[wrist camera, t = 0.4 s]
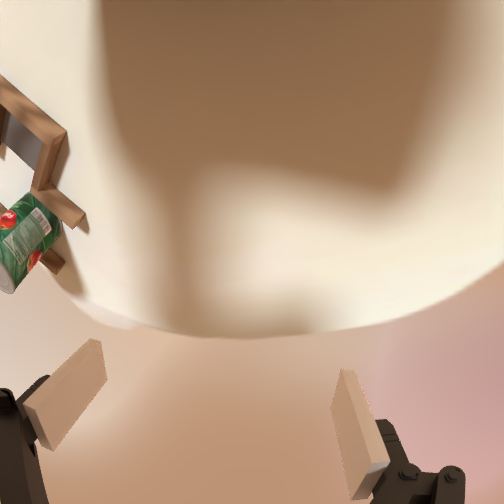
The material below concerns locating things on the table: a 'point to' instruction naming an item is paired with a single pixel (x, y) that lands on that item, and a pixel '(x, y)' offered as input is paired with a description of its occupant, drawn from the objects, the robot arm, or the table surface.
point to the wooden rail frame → (36, 156)
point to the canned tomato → (25, 239)
